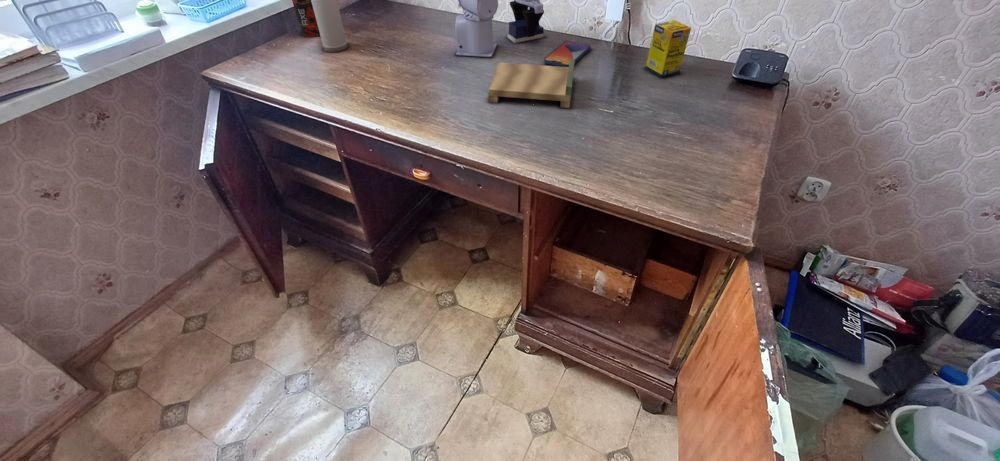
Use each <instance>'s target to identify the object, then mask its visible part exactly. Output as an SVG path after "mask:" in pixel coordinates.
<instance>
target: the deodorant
mask: <svg viewBox="0 0 1000 461" xmlns="http://www.w3.org/2000/svg"><path fill="white" fill-rule="evenodd" d="M291 2H292V6H293V9H294V12H295V16H296V19H297V22H298V23H297V24H298V25H299V29H300V32H301V35H302V36H303V37H306V38H314V37H319V36H320V32H319V28H318V24H317V21H316V17H315V13H314V9H313V5H312V2H311V0H291Z"/></svg>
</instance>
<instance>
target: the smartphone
mask: <svg viewBox="0 0 1000 461" xmlns="http://www.w3.org/2000/svg"><path fill="white" fill-rule="evenodd" d="M590 50H591V45H590V44H588V43H581V42H577V41H572V40H565V41H563V42H562V43H561V44H560V45H558V46H557V47H556V48H555V49H554V50H552V51H551V52H550V53H549V54H548V55H546V56H545V57H544V59H543V62H544V64H546V65H548V66H558V67H569V62H570V59H575V64H576V63H577V62H579V60H580V59H582V57H584V56H585V55H586V54H587V53H588V52H589V51H590Z"/></svg>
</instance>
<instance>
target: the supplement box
mask: <svg viewBox="0 0 1000 461" xmlns="http://www.w3.org/2000/svg"><path fill="white" fill-rule="evenodd" d="M691 30H692V27H690V26H688V25H687V24H684V23H682V22H680V21H678V20H676V19H673V20H669V21H665V22H660V23H659V22H658V23H655V24H654V28H653V33H652V37H651V41H650V46H649V50H648V55H647V60H646V64H645V69H646V70H647V71H649V72H651V73H652V74H654V75H656V76H657V77H659V78H664V77H667V76H671V75H674V74H679V73H680V70H681V67H682V63H683V60H684V56H685V52H686V49H687V46H688V45H687V44H688V41H689V38H690V34H691Z"/></svg>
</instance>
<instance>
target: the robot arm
mask: <svg viewBox="0 0 1000 461" xmlns="http://www.w3.org/2000/svg"><path fill="white" fill-rule="evenodd" d="M457 3H458V5H459V6H460V8H461V9H462V13H463V14H457V16H456V18H455V23H454V24H455V25H454V28H455V29H454V31H455V32H454V33H455V46H456V53H455V54H456V56H466V57H478V58H479V57H480V58H492V57H493V56H494V52H495V50H496V49H497V43H494V33H493V32H494V31H493V26H494V24H493V20H494V17H495V15H496V13H497V11H498V8H499V0H457ZM509 6H510V8H511V10H512V13H513V16H514V21H518V20H524V19H525V22H526V34H527V37H532V36H535V33H536V29H537V26H538V23H539V24H540V21H541V18H542V17H543V16H544V14H545V10H544V4H543V3H542V2H541V0H512V1H509Z"/></svg>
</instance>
